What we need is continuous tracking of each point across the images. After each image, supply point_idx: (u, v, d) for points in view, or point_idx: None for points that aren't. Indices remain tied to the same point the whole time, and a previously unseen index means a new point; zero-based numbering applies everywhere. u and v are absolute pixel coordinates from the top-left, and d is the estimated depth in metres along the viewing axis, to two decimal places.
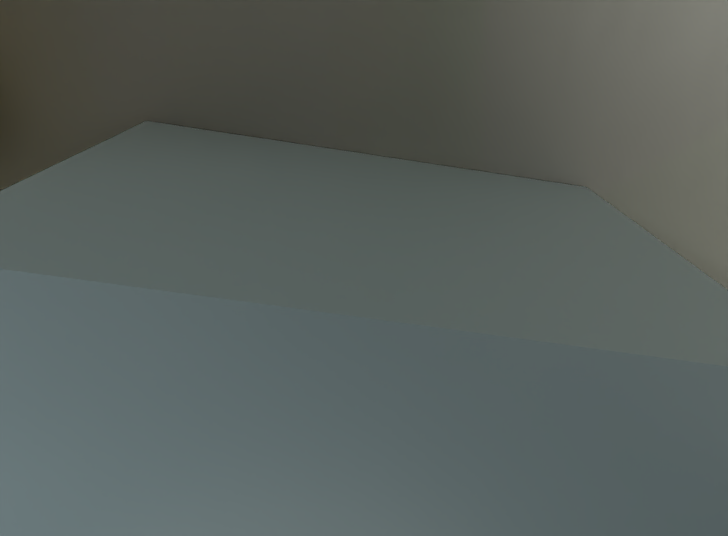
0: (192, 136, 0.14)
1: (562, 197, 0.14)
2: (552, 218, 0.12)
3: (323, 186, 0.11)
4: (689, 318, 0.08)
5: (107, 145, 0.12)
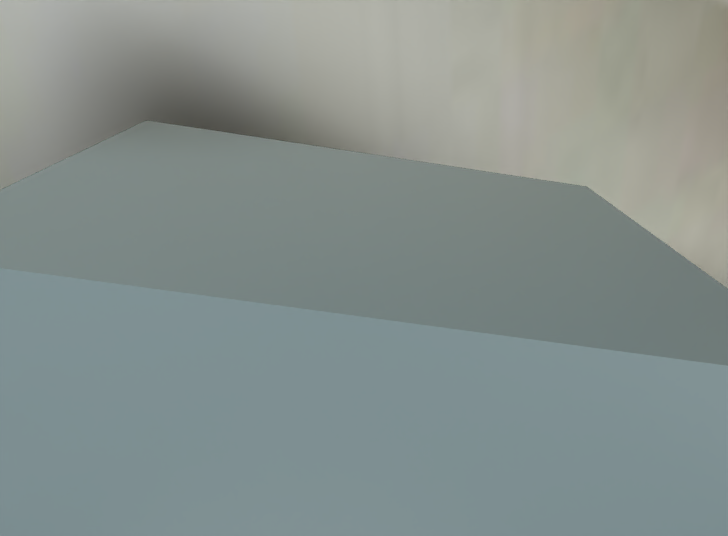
0: (192, 135, 0.14)
1: (562, 197, 0.14)
2: (553, 217, 0.12)
3: (323, 185, 0.11)
4: (690, 317, 0.08)
5: (107, 144, 0.12)
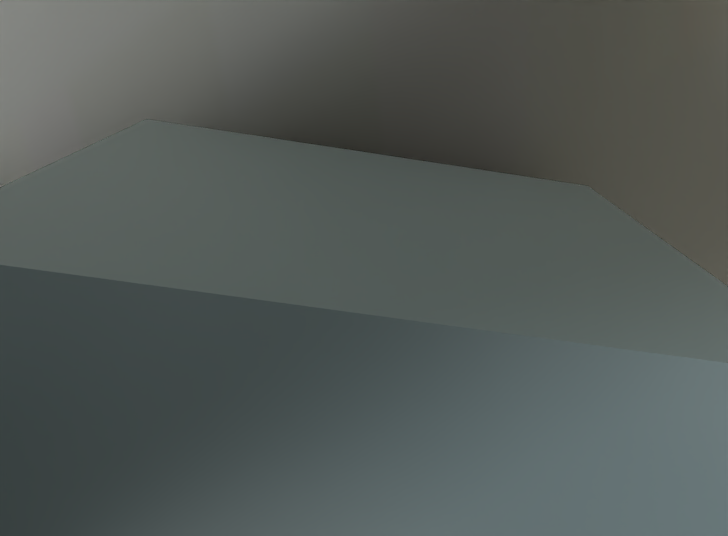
0: (192, 134, 0.14)
1: (563, 196, 0.14)
2: (554, 216, 0.12)
3: (324, 184, 0.11)
4: (691, 315, 0.08)
5: (107, 143, 0.12)
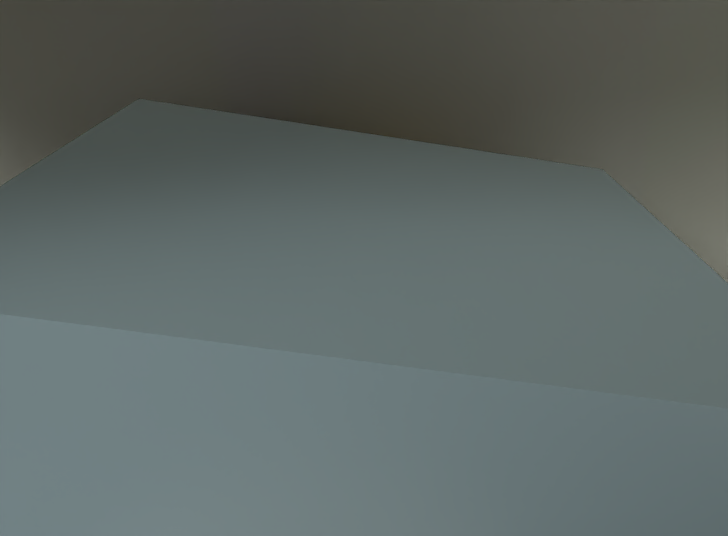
0: (187, 117, 0.13)
1: (576, 184, 0.13)
2: (566, 213, 0.11)
3: (323, 180, 0.11)
4: (710, 346, 0.08)
5: (95, 133, 0.11)
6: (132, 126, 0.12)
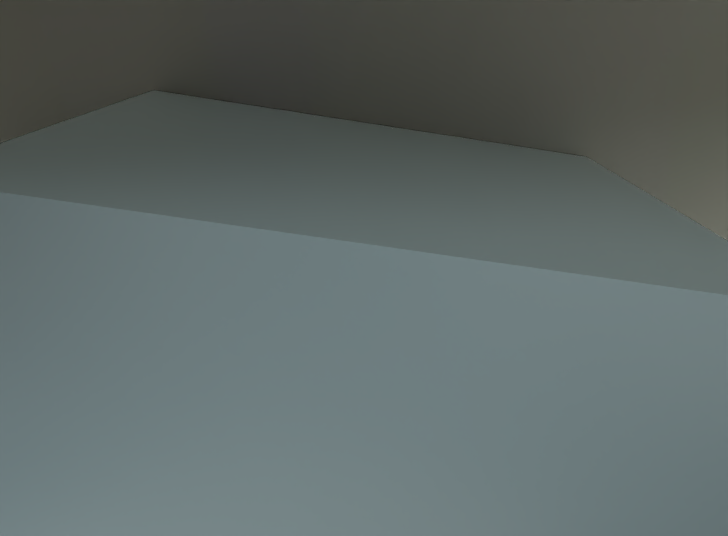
0: (199, 103, 0.14)
1: (563, 163, 0.14)
2: (553, 178, 0.12)
3: (329, 146, 0.12)
4: (686, 258, 0.08)
5: (117, 107, 0.12)
6: (150, 105, 0.13)
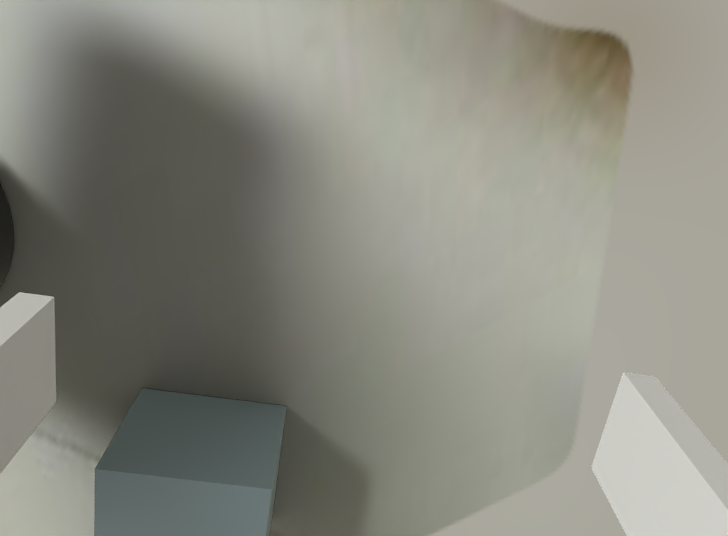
0: (156, 398, 0.45)
1: (269, 416, 0.45)
2: (254, 431, 0.43)
3: (189, 425, 0.43)
4: (253, 473, 0.39)
5: (131, 411, 0.43)
6: (140, 406, 0.44)
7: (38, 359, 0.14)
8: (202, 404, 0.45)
